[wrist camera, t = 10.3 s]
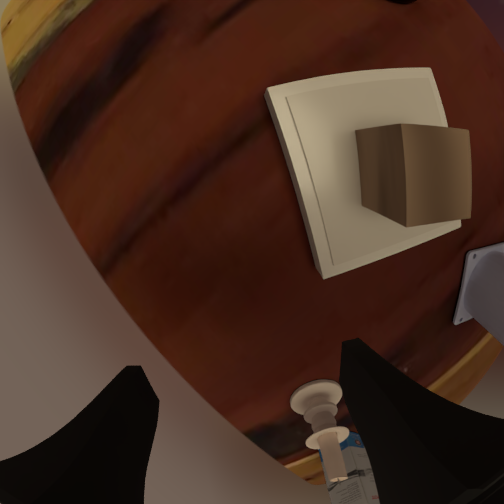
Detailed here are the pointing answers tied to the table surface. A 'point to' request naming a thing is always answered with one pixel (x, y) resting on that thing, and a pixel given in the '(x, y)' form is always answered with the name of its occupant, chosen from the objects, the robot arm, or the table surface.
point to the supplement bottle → (404, 1)
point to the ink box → (353, 475)
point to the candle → (323, 423)
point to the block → (415, 173)
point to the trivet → (349, 158)
